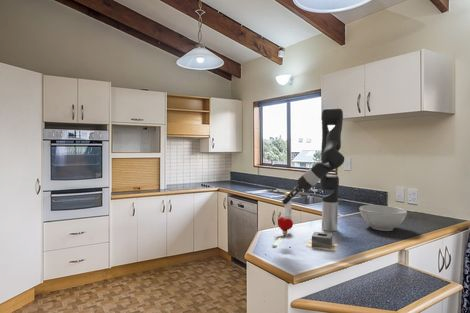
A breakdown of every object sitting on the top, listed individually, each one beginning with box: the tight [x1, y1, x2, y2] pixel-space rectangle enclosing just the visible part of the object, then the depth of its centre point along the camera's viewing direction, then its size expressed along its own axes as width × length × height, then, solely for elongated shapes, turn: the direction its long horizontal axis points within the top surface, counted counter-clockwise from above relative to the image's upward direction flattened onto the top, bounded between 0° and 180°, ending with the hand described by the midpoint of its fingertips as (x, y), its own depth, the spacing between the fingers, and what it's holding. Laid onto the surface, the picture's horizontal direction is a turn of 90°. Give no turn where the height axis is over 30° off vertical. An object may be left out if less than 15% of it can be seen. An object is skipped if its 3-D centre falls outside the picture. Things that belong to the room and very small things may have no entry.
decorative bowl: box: [359, 204, 408, 232], centre depth 194 cm, size 27×27×12 cm
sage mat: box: [272, 237, 285, 248], centre depth 159 cm, size 14×12×1 cm
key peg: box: [284, 191, 293, 220], centre depth 159 cm, size 4×4×13 cm
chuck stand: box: [305, 231, 338, 252], centre depth 155 cm, size 14×14×6 cm
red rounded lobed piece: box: [277, 216, 294, 236], centre depth 176 cm, size 9×7×10 cm
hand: (284, 202), depth 159 cm, fingers closed on key peg, 3 cm apart
